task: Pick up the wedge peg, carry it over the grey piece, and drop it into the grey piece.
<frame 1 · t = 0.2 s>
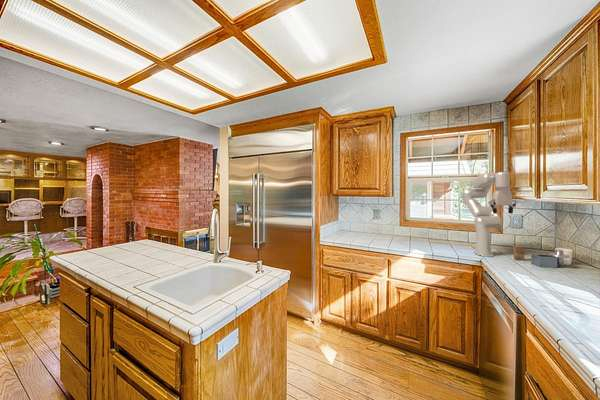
hand: (502, 213, 159), 36 cm above the worktop, tool pointing down, fingers open, 9 cm apart
white cup: (563, 263, 157), on the worktop
wedge peg: (518, 259, 167), on the worktop
grey piece: (559, 266, 151), on the worktop
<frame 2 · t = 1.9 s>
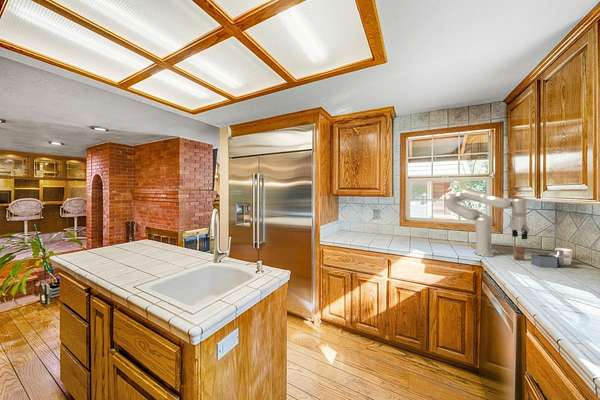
hand: (519, 237, 166), 17 cm above the worktop, tool pointing down, fingers open, 9 cm apart
nothing on the worktop moved.
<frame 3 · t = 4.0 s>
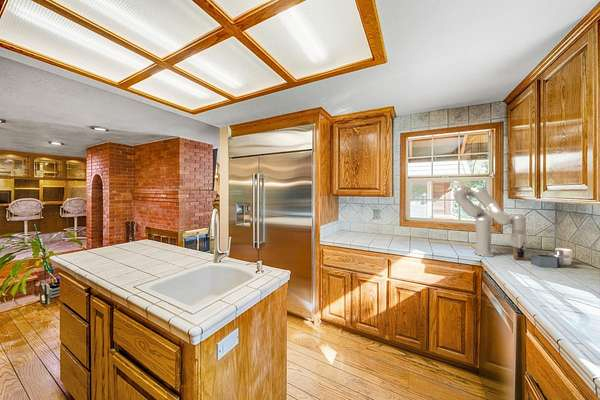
hand: (518, 256, 167), 3 cm above the worktop, tool pointing down, fingers closed on wedge peg, 3 cm apart
wedge peg: (518, 259, 167), on the worktop, touching gripper
everything else where it was.
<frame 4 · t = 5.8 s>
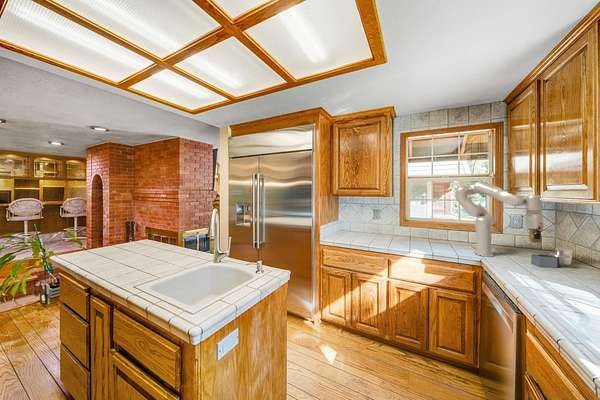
hand: (535, 238, 157), 18 cm above the worktop, tool pointing down, fingers closed on wedge peg, 3 cm apart
wedge peg: (535, 242, 157), point 15 cm above the worktop, touching gripper
everything else where it was.
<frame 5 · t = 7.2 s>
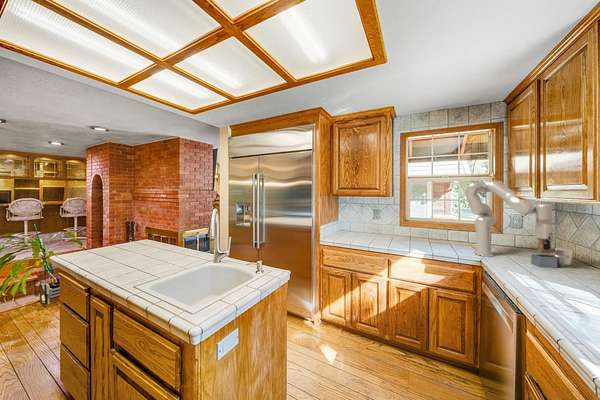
hand: (544, 248, 152), 12 cm above the worktop, tool pointing down, fingers closed on wedge peg, 3 cm apart
wedge peg: (544, 252, 152), point 9 cm above the worktop, touching gripper
everything else where it was.
when the fingers open (8 cm above the worktop, at t = 8.1 s): wedge peg drops 6 cm, resting in grey piece.
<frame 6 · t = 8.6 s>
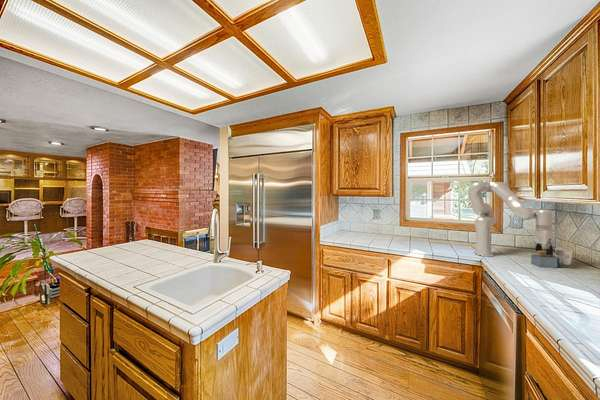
hand: (543, 252, 153), 9 cm above the worktop, tool pointing down, fingers open, 8 cm apart
wedge peg: (543, 265, 153), resting in grey piece
everything else where it was.
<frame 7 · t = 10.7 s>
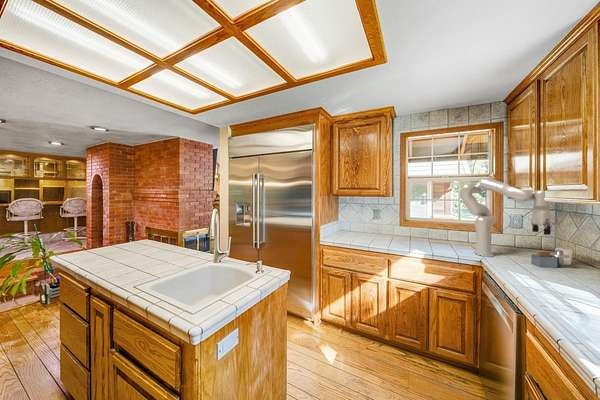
hand: (541, 233, 153), 22 cm above the worktop, tool pointing down, fingers open, 9 cm apart
nothing on the worktop moved.
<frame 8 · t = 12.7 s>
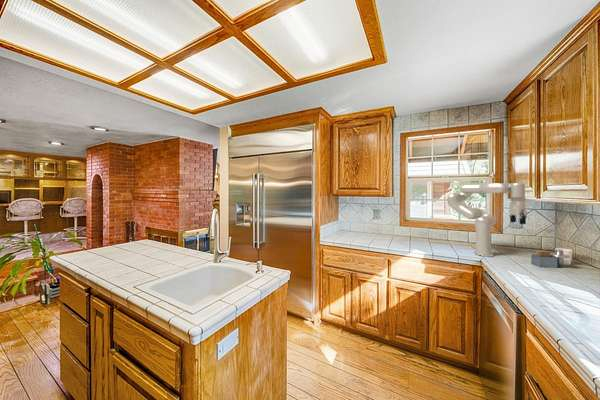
hand: (517, 223, 163), 28 cm above the worktop, tool pointing down, fingers open, 9 cm apart
nothing on the worktop moved.
at the end: wedge peg 0.2 cm from the target spot on the grey piece, point 0.0 cm above the grey piece's base; wedge peg tilted 0°; the gripper is holding nothing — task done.
